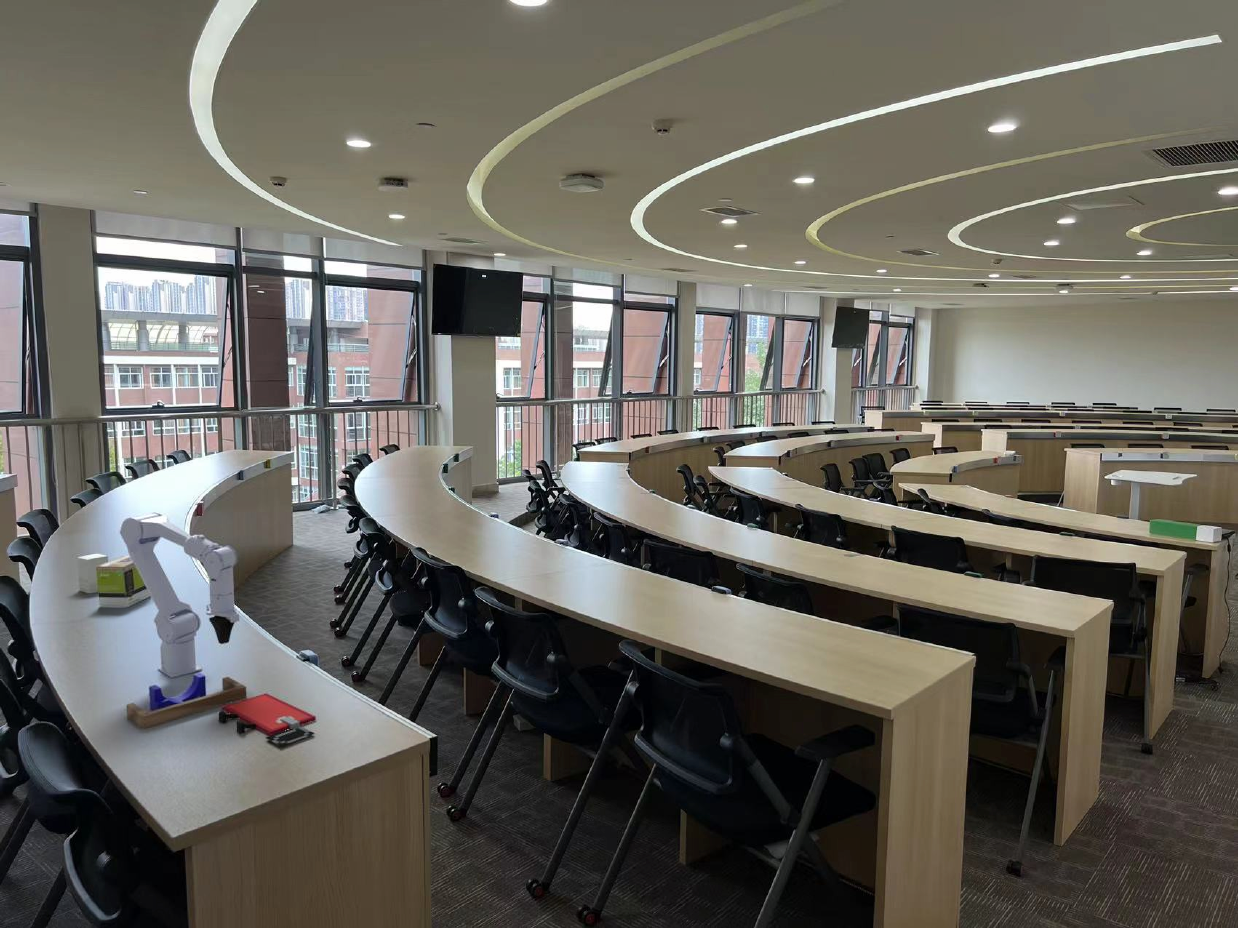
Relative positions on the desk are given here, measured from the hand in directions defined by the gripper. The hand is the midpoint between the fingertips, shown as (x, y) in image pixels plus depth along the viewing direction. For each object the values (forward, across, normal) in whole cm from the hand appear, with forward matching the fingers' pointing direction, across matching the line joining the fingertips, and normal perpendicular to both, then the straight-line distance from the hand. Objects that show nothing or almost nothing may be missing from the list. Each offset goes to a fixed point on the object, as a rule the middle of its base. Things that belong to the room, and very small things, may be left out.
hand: (223, 642), depth 222 cm
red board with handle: (+10, +35, -6) cm, 37 cm away
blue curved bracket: (+10, +10, -16) cm, 21 cm away
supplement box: (+10, -118, +7) cm, 119 cm away
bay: (+9, +13, -15) cm, 22 cm away
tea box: (+10, -94, +9) cm, 95 cm away
